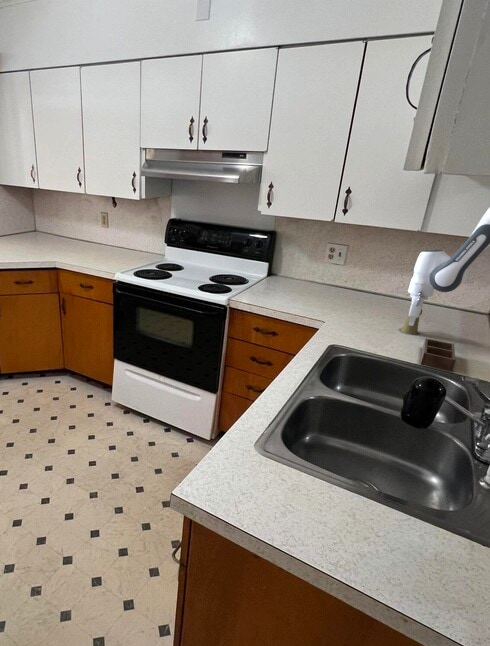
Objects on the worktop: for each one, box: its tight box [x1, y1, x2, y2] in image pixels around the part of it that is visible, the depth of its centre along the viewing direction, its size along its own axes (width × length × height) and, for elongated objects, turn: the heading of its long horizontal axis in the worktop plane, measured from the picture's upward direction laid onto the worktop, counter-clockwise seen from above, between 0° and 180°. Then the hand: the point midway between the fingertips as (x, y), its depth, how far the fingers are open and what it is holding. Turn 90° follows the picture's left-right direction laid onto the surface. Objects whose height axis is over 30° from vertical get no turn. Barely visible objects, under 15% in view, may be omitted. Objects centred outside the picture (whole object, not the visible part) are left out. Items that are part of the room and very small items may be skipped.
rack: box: [420, 338, 456, 373], centre depth 149 cm, size 9×17×5 cm, turn 148°
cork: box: [400, 306, 423, 335], centre depth 174 cm, size 6×6×11 cm
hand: (411, 322), depth 175 cm, fingers open, 8 cm apart
